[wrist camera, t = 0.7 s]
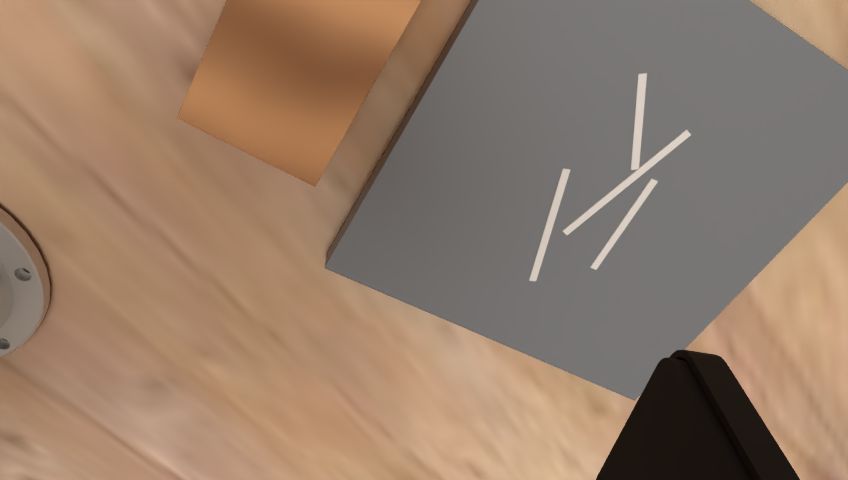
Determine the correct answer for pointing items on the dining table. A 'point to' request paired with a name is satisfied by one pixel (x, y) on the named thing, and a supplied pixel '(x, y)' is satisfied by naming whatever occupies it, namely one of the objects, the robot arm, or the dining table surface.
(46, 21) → the dining table surface
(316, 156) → the block
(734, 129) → the board
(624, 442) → the robot arm
